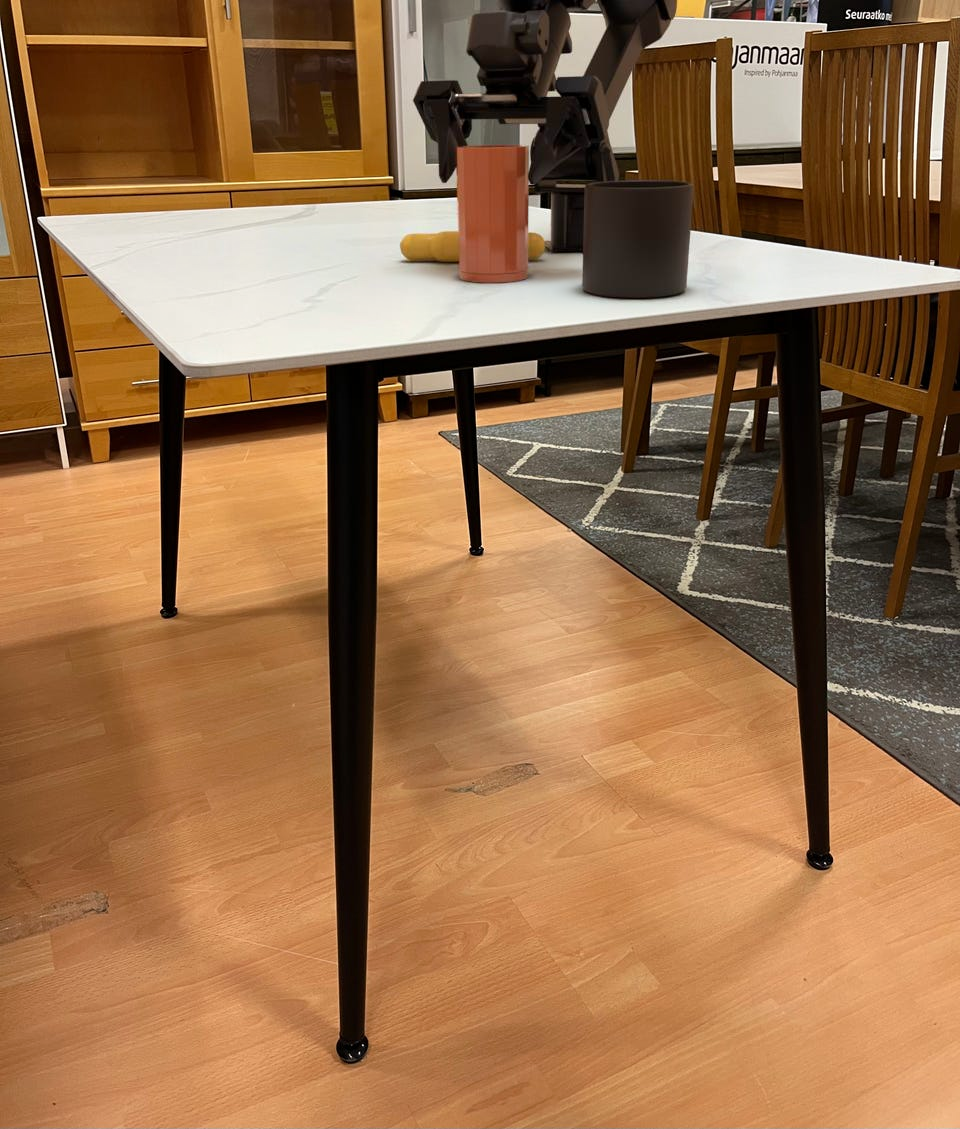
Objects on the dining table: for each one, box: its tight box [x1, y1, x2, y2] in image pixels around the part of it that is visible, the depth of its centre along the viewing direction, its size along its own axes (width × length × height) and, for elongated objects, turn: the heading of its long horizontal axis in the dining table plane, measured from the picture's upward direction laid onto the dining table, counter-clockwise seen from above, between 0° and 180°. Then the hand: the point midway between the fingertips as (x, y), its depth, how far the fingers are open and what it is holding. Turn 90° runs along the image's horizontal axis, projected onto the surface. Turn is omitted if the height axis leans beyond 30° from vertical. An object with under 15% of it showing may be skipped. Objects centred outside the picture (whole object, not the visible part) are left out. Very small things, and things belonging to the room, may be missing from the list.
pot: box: [455, 144, 530, 284], centre depth 93 cm, size 7×7×12 cm
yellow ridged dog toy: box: [399, 230, 546, 263], centre depth 105 cm, size 16×4×3 cm, turn 86°
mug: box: [581, 179, 695, 299], centre depth 87 cm, size 9×12×9 cm
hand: (485, 180), depth 91 cm, fingers open, 9 cm apart
